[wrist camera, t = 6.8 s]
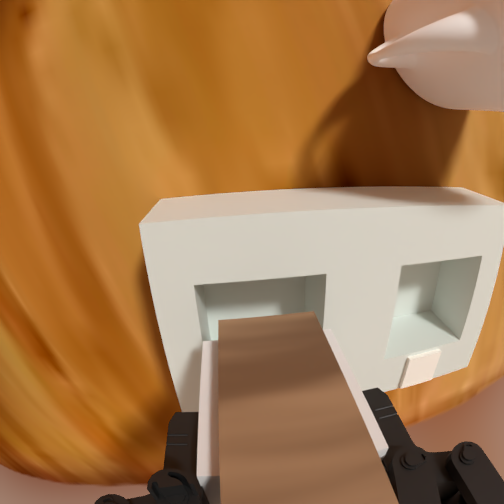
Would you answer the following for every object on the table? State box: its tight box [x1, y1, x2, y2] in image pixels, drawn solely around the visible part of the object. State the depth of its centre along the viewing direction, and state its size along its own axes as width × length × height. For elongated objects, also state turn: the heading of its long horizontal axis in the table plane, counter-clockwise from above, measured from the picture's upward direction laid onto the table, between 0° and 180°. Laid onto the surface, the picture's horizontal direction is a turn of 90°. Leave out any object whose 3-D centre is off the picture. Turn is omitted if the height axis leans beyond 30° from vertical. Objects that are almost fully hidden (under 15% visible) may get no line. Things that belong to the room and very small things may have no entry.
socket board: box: [139, 186, 504, 412], centre depth 18 cm, size 12×20×5 cm, turn 93°
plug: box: [218, 311, 399, 504], centre depth 10 cm, size 4×4×9 cm
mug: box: [367, 0, 504, 112], centre depth 10 cm, size 9×12×11 cm
